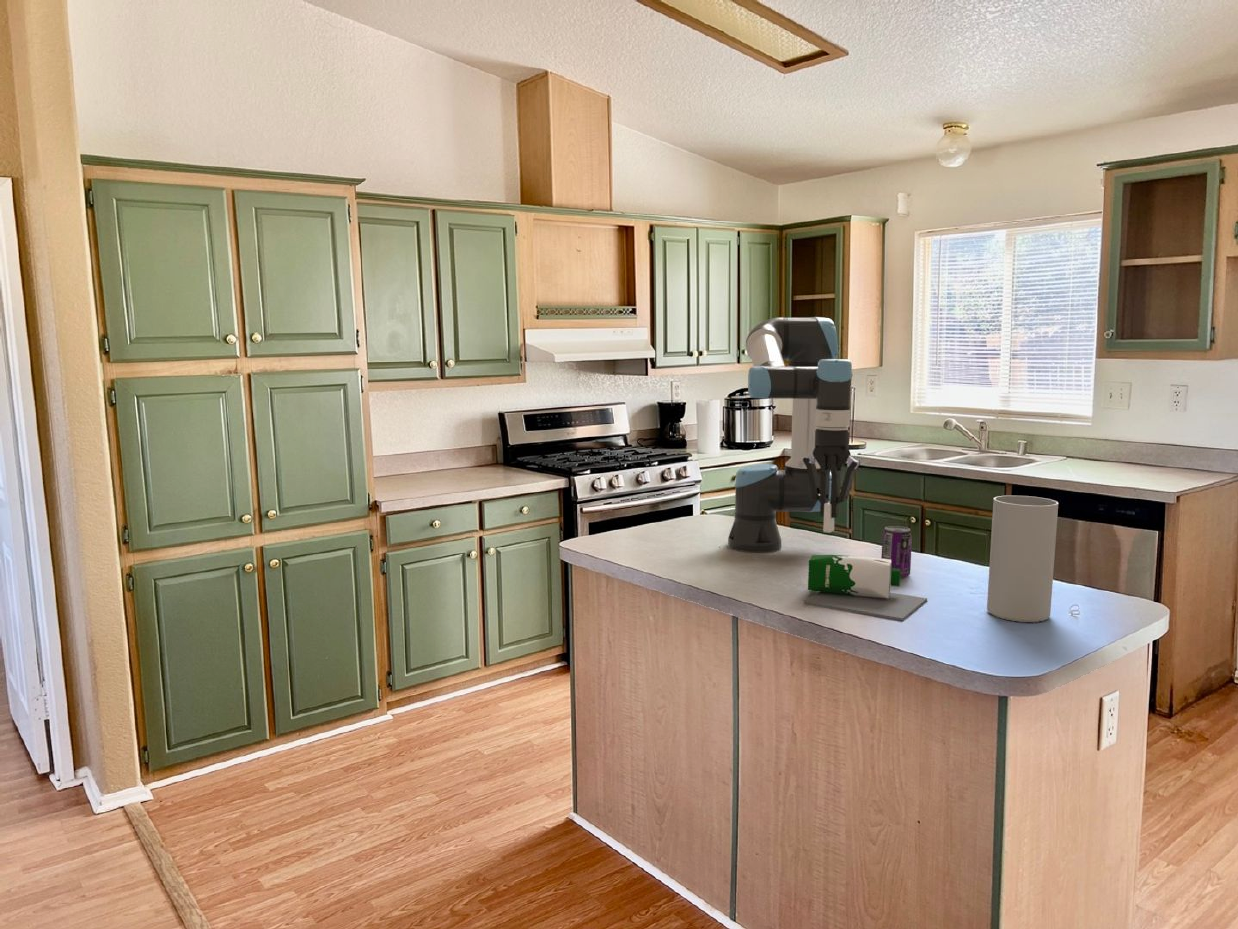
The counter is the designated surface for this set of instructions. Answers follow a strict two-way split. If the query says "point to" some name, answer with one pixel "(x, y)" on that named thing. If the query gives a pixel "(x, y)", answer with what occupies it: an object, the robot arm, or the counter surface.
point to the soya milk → (852, 575)
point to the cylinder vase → (1022, 558)
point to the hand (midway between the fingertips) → (828, 531)
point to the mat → (870, 604)
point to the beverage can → (897, 548)
